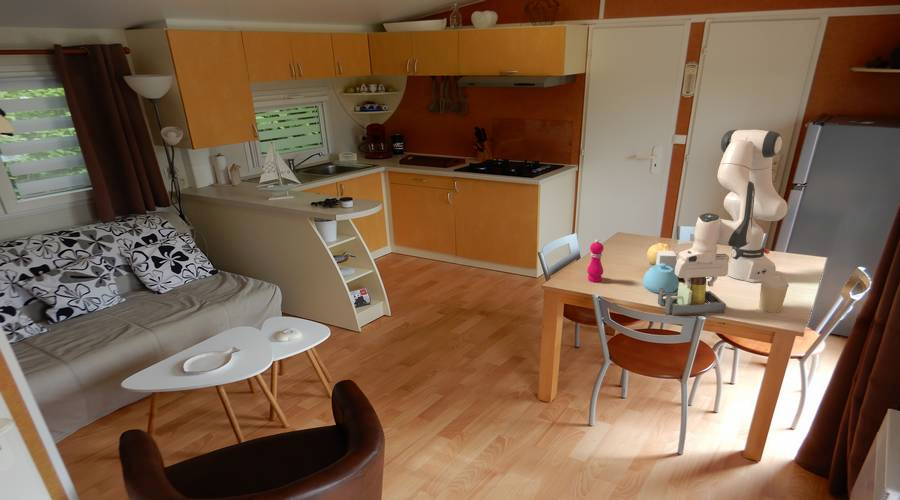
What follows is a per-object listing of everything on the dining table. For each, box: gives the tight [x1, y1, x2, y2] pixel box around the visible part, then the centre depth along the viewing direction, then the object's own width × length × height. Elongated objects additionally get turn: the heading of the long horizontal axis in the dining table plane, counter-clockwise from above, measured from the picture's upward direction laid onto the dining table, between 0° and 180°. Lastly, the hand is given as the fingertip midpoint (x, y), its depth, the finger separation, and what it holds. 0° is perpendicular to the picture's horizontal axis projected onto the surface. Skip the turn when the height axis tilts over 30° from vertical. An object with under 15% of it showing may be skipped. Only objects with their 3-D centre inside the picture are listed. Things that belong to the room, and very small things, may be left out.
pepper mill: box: [586, 239, 605, 283], centre depth 239 cm, size 7×7×20 cm
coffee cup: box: [758, 277, 790, 314], centre depth 207 cm, size 9×9×12 cm
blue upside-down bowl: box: [642, 263, 680, 294], centre depth 229 cm, size 15×15×12 cm
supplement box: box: [656, 250, 677, 271], centre depth 239 cm, size 7×7×13 cm
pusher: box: [663, 282, 692, 305], centre depth 211 cm, size 9×9×9 cm
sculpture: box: [646, 242, 673, 266], centre depth 256 cm, size 12×12×11 cm
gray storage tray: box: [657, 288, 727, 316], centre depth 211 cm, size 22×12×7 cm, turn 91°
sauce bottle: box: [688, 277, 707, 304], centre depth 210 cm, size 6×6×20 cm
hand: (699, 286), depth 209 cm, fingers open, 8 cm apart
